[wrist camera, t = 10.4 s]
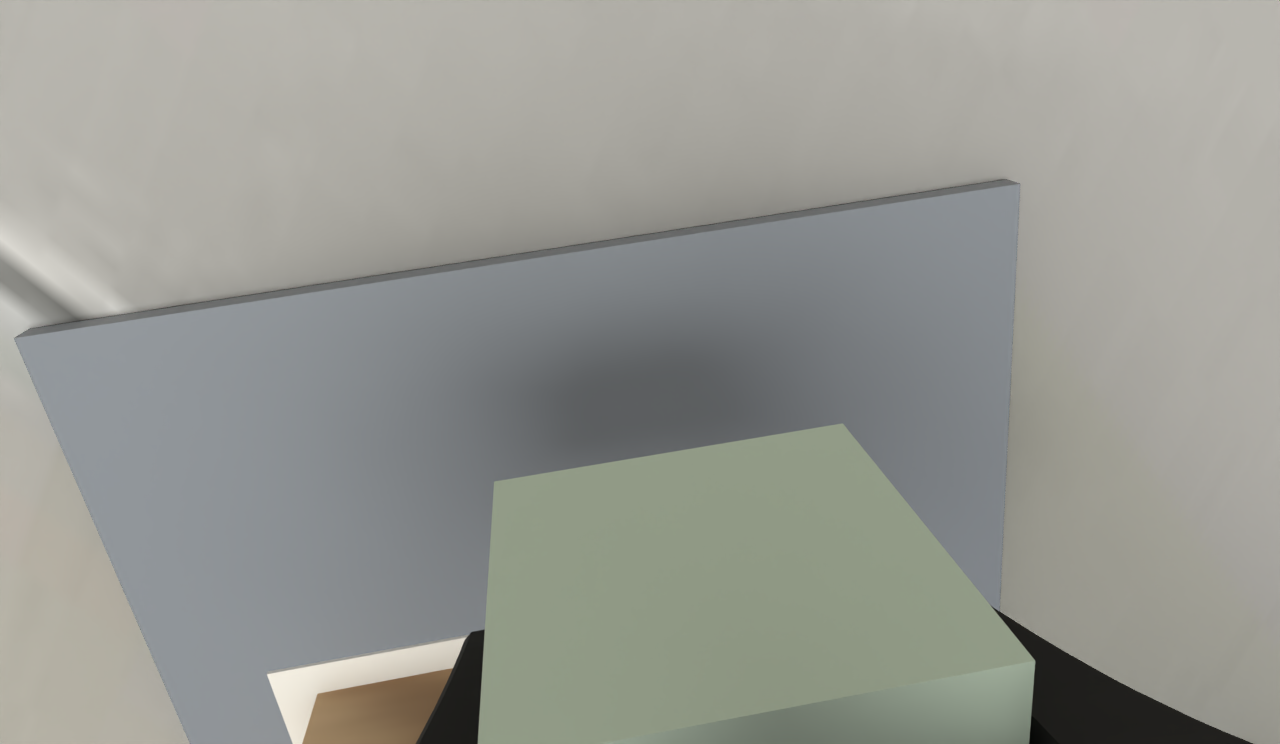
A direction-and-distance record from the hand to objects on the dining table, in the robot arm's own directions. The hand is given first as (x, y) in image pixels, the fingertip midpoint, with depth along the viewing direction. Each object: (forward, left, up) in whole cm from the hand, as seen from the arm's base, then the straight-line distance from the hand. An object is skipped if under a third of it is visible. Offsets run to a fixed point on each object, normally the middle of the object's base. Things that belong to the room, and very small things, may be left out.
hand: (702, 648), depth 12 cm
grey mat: (+2, +5, -9) cm, 11 cm away
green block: (0, 0, -1) cm, 1 cm away
